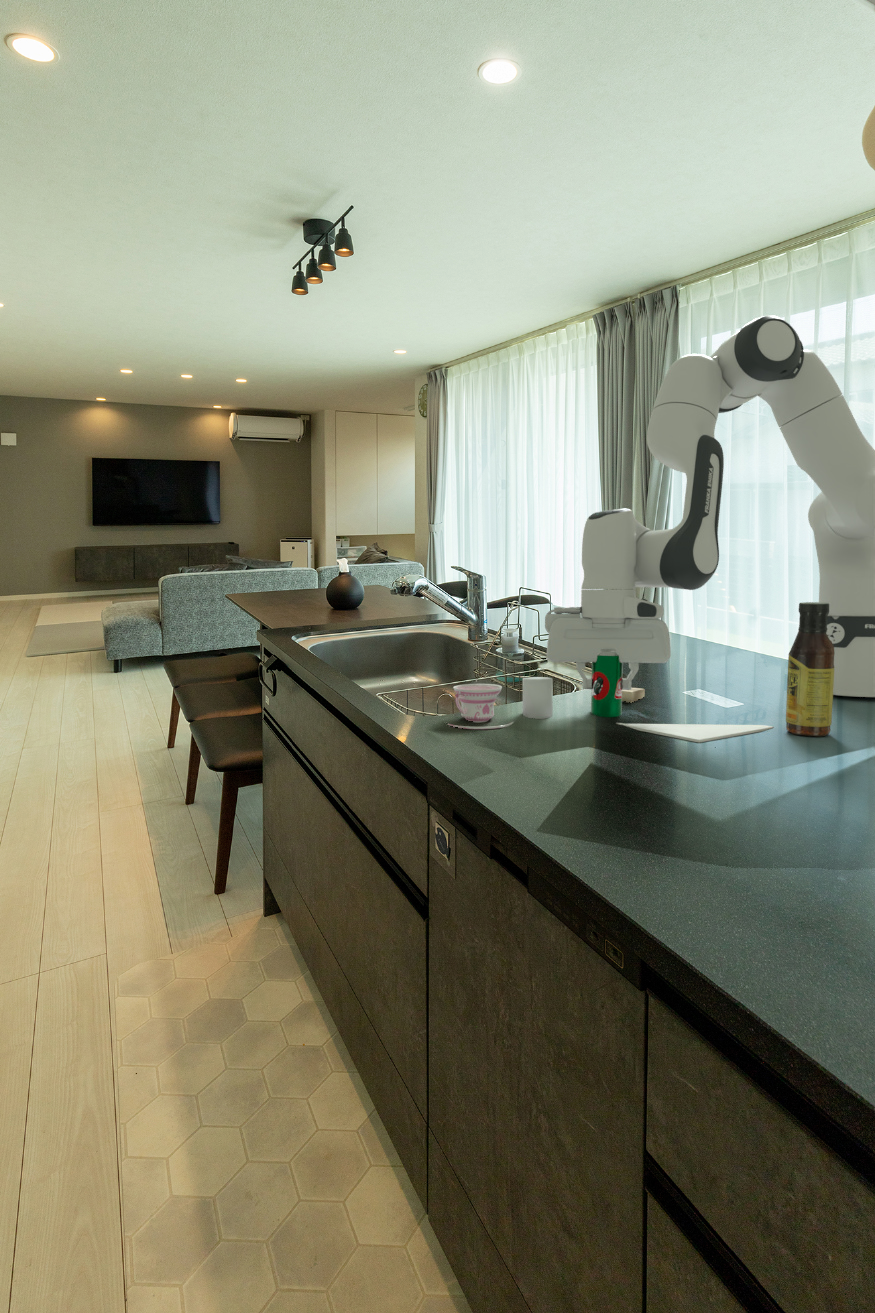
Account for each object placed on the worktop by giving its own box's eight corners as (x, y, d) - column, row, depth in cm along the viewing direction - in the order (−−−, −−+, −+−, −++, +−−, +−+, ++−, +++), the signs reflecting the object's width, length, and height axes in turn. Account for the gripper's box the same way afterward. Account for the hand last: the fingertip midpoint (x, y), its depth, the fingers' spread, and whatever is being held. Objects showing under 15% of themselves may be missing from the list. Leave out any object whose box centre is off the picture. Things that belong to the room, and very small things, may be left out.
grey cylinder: (539, 716, 128) (539, 676, 127) (558, 720, 124) (558, 679, 123) (516, 719, 125) (516, 678, 125) (535, 723, 121) (535, 681, 120)
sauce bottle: (785, 728, 116) (790, 601, 114) (830, 731, 113) (836, 602, 112) (784, 736, 110) (790, 602, 108) (832, 739, 107) (838, 602, 106)
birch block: (619, 707, 138) (619, 686, 138) (644, 710, 135) (644, 688, 134) (606, 711, 134) (606, 689, 134) (631, 714, 131) (631, 691, 131)
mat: (679, 713, 130) (679, 711, 130) (773, 729, 115) (773, 726, 115) (606, 723, 121) (606, 721, 121) (699, 742, 106) (699, 739, 106)
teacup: (478, 715, 130) (478, 680, 130) (529, 724, 122) (529, 687, 121) (426, 723, 122) (426, 686, 122) (478, 734, 114) (478, 694, 113)
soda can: (622, 722, 122) (623, 650, 121) (590, 721, 123) (592, 649, 122) (620, 717, 127) (622, 647, 126) (590, 716, 128) (591, 647, 127)
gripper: (545, 607, 122) (544, 690, 123) (673, 607, 119) (671, 692, 120) (545, 606, 128) (544, 685, 129) (667, 606, 125) (665, 687, 126)
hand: (606, 689), depth 124 cm, fingers closed on soda can, 5 cm apart
